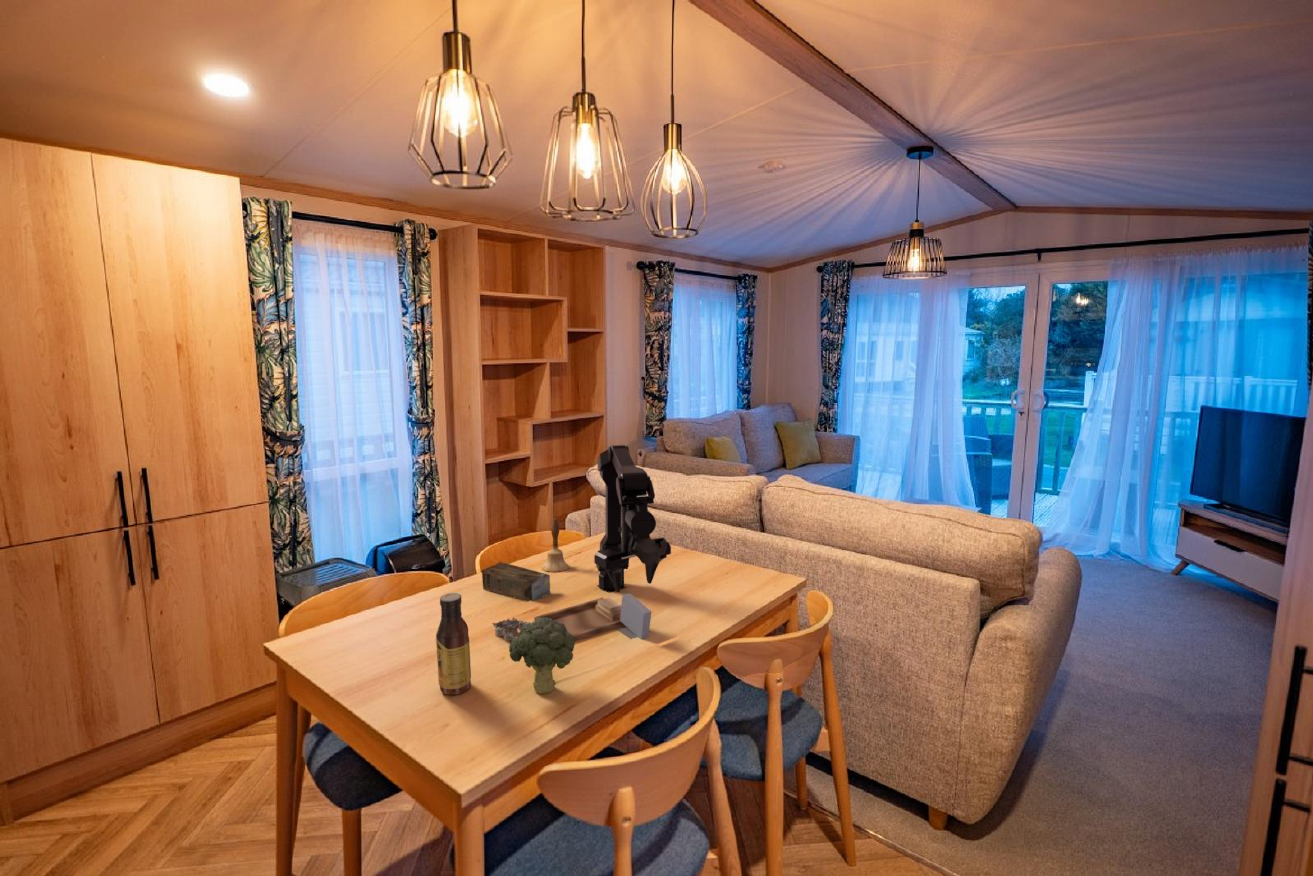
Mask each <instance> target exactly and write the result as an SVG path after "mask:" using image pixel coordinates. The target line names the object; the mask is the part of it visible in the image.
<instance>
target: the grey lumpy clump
mask: <svg viewBox="0 0 1313 876" xmlns="http://www.w3.org/2000/svg"><path fill="white" fill-rule="evenodd" d="M491 623H492V625H493V627H494V635H495V637H497V638H498V637H503V641H504V642H508V641H510V642H512V641H513V640H514V639H515V638H517V637H518V636H516V637H515V635H518V630H519V631H521V628H522V627H523V626H525V625H530V624H531V623H532V622H530V621H529V622H527V621H525V620H518V618H517V617H512V618H511V619H510V618H509V617H508V618H507V619H503V620H502V621H501V620H499V621H498V622H491ZM506 632H507V633H506Z"/></svg>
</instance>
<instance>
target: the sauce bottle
mask: <svg viewBox="0 0 1313 876" xmlns="http://www.w3.org/2000/svg"><path fill="white" fill-rule="evenodd" d="M439 605H440V607H441V609H440V611H441V612H440V613H441V616H440V617H441V619H440V622H439V626H438V627H437V628H438V629H437V631H436V633H435V643H436V658H437V660H436V661H437V675H438V677H437V678H438V685H439V689H440V691H441V693H442V694H444V695H448V696H456V695H460V694H462V693H465V692H466V691H467V690H468V689H469V688H470V687H471V683H472V681H471V679H472V669H471V667H472V666H471V655H470V654H471V652H470V651H471V650H470V648H471V646H470V637H469V625H468V624H467V622H466V621H465V619H464V618H463V617H462V595H461V593H458V592H450V593H446V594H443V595H441V596H440V597H439Z"/></svg>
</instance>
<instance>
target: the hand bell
mask: <svg viewBox="0 0 1313 876" xmlns="http://www.w3.org/2000/svg"><path fill="white" fill-rule="evenodd" d="M550 533H551V536H552V548H551V549H550V550H548V552H547V558H546V561H545V563H543V565H542V567H541V569H542V568H543V569H542V570H543V571H544V570H545V572H547V571H549V572H548V573H558V572H559V571H561V572H564V571H566V570H565V569H567V568H568V567H570V565H569V564H568V563H567V562H566V561H565V559H564V554H563V550H561V549H560V548H559V541H558V540H559V538H558V537H559V535H560V524H559V521H558V518H557V517H554V518H552V522H551V526H550ZM568 569H569V568H568ZM568 569H567V570H568ZM563 570H564V571H563ZM559 573H560V572H559Z"/></svg>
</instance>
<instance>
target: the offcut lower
mask: <svg viewBox="0 0 1313 876" xmlns="http://www.w3.org/2000/svg"><path fill="white" fill-rule="evenodd" d="M596 611H598V612H599V613H601V614H602V615H604V616H605V617H607V618H608V619H610V620H611V621H614V620H618V619H620V615H621V611H619V612H615V613H612V614H609V613H608V612H606V611H605V610H603V609H601V608H600V607H598V604H597V605H596Z"/></svg>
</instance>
